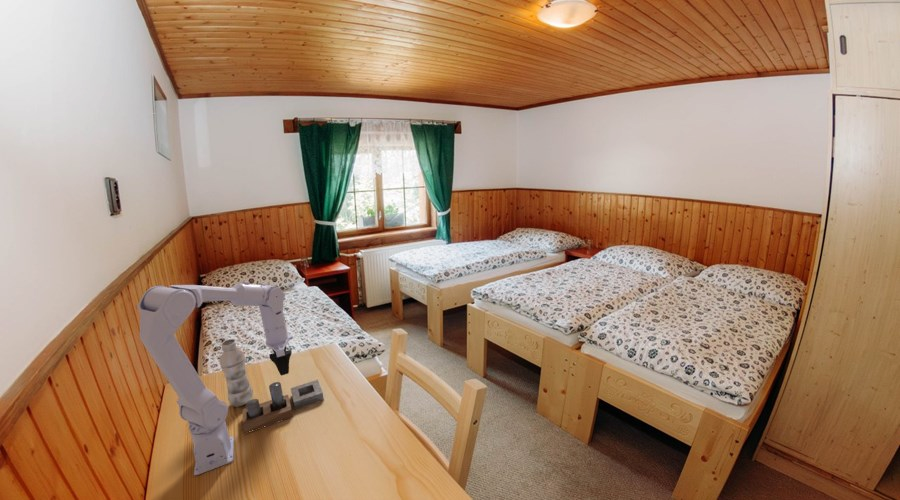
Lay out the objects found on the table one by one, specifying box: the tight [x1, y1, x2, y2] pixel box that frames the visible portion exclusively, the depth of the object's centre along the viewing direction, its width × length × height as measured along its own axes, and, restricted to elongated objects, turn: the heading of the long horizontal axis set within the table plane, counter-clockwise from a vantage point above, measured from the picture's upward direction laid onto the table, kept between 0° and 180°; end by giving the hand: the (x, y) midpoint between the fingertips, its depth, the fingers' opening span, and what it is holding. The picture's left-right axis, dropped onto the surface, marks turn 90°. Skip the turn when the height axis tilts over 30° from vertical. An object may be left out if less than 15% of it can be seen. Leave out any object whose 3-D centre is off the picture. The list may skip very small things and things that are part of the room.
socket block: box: [290, 379, 324, 411], centre depth 113 cm, size 8×8×2 cm
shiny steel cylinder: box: [268, 381, 285, 411], centre depth 106 cm, size 3×3×9 cm
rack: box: [242, 394, 294, 434], centre depth 105 cm, size 8×12×6 cm, turn 119°
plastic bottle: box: [219, 338, 254, 408], centre depth 111 cm, size 6×7×20 cm
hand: (283, 367), depth 111 cm, fingers open, 7 cm apart
